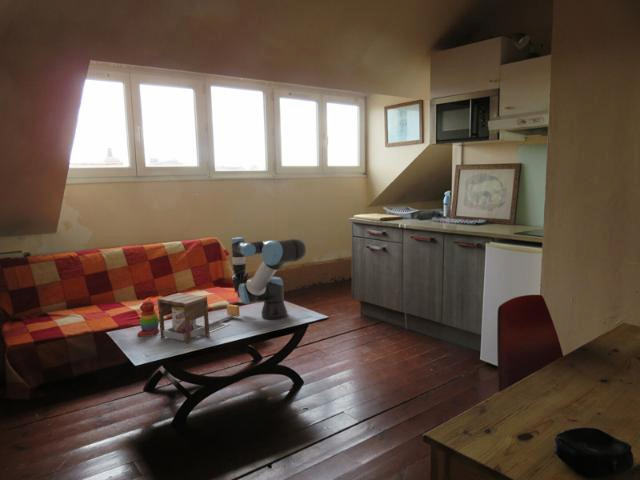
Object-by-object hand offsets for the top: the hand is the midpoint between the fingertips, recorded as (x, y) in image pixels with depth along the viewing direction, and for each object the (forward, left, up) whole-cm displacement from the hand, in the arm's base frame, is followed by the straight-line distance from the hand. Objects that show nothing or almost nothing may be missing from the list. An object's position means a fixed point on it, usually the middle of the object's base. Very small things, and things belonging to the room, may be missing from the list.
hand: (241, 301), depth 272 cm
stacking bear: (+22, +49, -8) cm, 54 cm away
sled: (0, +29, -6) cm, 30 cm away
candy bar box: (0, +44, -8) cm, 45 cm away
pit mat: (0, +28, -7) cm, 29 cm away
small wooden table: (0, +44, -7) cm, 45 cm away
